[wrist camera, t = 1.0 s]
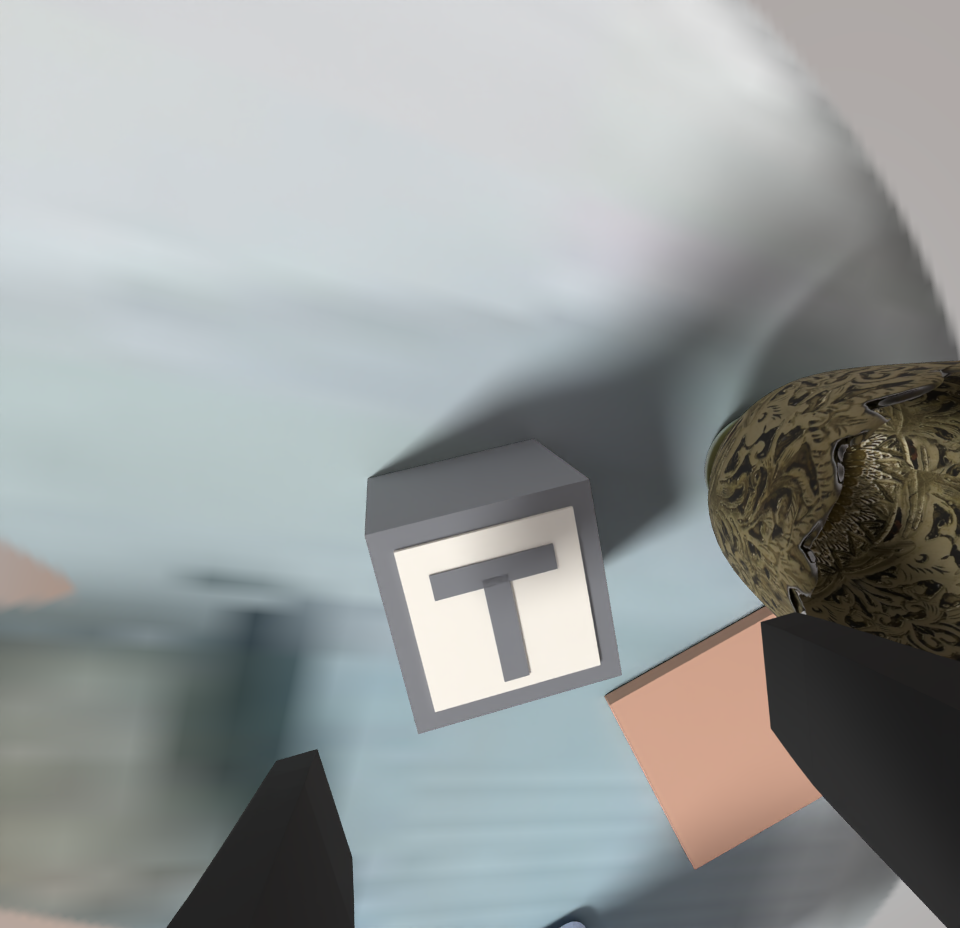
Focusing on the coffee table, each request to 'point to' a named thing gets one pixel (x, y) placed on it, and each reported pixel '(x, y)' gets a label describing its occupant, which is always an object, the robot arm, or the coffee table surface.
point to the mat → (712, 742)
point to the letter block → (491, 581)
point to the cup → (849, 500)
